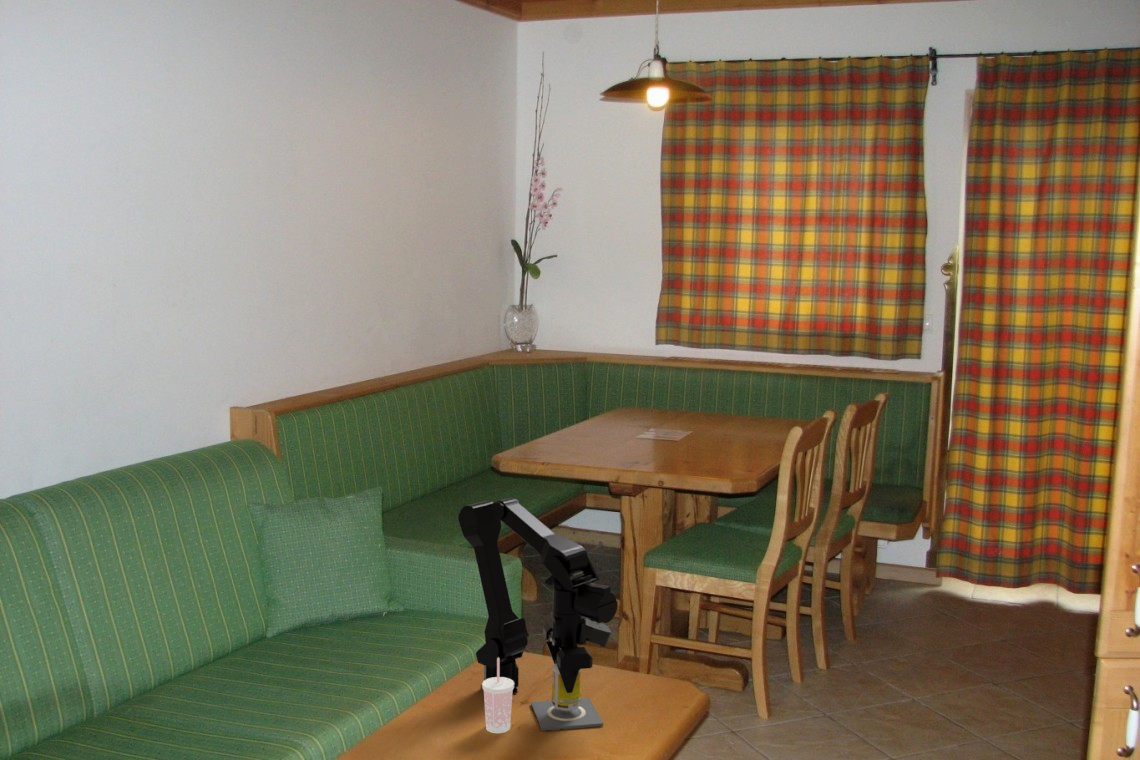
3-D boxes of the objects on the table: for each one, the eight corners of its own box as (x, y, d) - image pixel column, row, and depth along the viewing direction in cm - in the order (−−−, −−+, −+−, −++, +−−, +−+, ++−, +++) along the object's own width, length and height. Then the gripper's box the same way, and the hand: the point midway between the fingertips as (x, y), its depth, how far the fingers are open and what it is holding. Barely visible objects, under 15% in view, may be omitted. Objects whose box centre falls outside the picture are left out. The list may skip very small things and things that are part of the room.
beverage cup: (518, 723, 213) (519, 654, 211) (506, 737, 207) (507, 666, 205) (489, 718, 215) (489, 650, 213) (476, 732, 209) (476, 661, 207)
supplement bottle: (586, 707, 216) (587, 657, 215) (564, 714, 213) (564, 664, 211) (568, 697, 220) (568, 648, 219) (546, 704, 217) (546, 655, 215)
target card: (541, 731, 210) (542, 727, 209) (531, 704, 221) (531, 701, 221) (603, 726, 212) (603, 722, 212) (589, 700, 224) (589, 697, 224)
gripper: (619, 624, 206) (617, 703, 208) (596, 592, 224) (595, 665, 227) (561, 627, 204) (560, 707, 206) (543, 595, 222) (542, 668, 224)
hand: (566, 686), depth 216 cm, fingers closed on supplement bottle, 5 cm apart
